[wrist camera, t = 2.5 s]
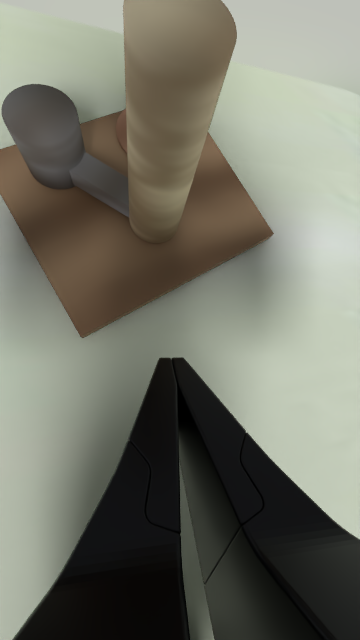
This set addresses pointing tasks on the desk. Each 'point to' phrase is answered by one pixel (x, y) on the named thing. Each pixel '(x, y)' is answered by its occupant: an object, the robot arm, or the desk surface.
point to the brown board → (126, 230)
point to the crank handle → (138, 114)
